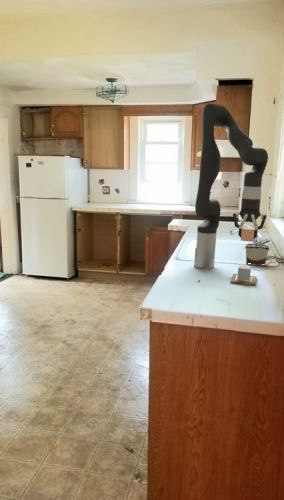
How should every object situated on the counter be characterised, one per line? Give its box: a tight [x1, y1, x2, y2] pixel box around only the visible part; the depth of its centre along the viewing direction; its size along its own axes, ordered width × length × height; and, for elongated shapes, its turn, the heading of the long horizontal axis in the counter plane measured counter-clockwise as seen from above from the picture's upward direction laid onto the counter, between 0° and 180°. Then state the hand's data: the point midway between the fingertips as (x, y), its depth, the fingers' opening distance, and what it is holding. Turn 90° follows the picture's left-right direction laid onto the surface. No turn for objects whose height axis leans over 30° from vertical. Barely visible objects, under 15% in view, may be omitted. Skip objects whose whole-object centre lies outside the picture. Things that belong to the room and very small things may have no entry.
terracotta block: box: [240, 226, 255, 243], centre depth 158 cm, size 5×5×5 cm
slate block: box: [237, 265, 252, 281], centre depth 162 cm, size 5×5×5 cm
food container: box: [244, 243, 271, 265], centre depth 193 cm, size 12×6×10 cm, turn 84°
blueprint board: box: [230, 273, 257, 287], centre depth 163 cm, size 10×12×1 cm
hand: (247, 237), depth 159 cm, fingers closed on terracotta block, 5 cm apart
